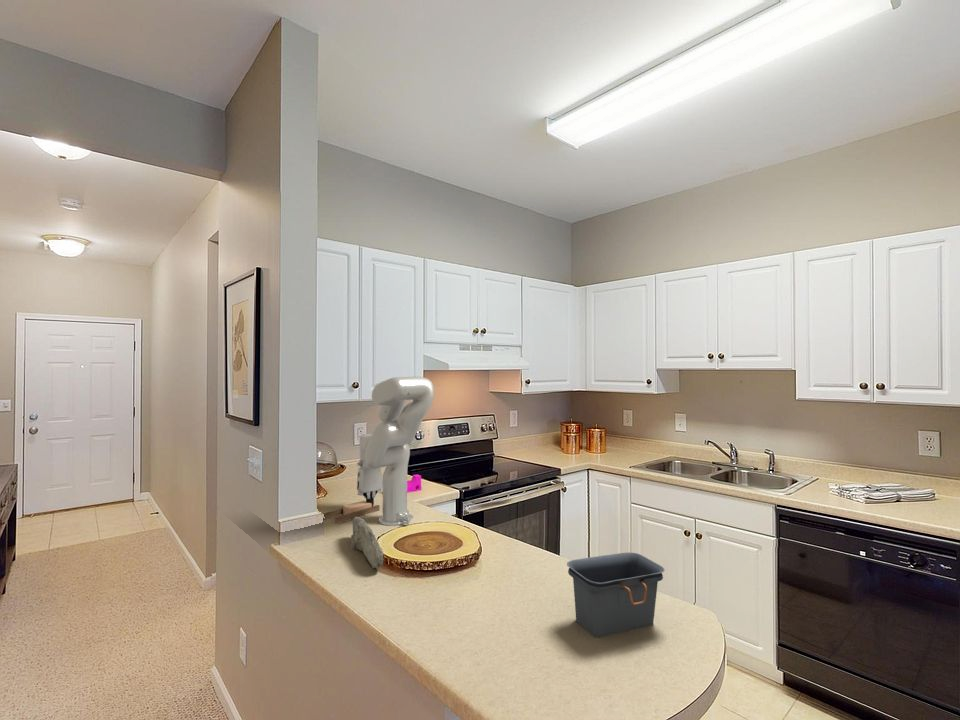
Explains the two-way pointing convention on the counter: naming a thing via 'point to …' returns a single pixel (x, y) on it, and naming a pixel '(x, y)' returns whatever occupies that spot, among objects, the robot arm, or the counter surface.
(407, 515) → the robot arm
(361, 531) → the elongated rock
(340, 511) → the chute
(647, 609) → the storage bin
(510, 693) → the counter surface
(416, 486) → the toy block
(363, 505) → the block
